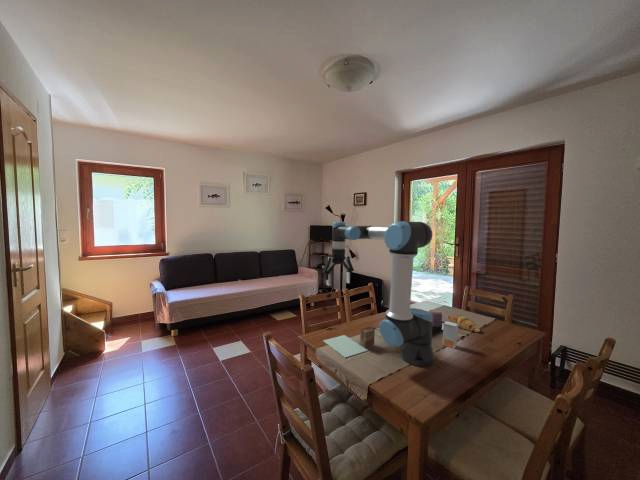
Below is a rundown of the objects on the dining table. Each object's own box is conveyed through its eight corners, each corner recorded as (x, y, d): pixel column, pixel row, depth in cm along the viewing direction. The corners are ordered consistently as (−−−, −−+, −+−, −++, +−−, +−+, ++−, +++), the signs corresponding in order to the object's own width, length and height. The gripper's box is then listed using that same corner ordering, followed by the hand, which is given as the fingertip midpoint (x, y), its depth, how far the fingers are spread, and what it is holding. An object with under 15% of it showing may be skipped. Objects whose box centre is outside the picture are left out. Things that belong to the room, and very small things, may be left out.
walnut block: (374, 346, 139) (374, 329, 138) (365, 349, 136) (365, 332, 135) (369, 343, 142) (369, 326, 142) (360, 346, 139) (360, 329, 139)
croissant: (482, 338, 158) (487, 325, 159) (473, 333, 153) (478, 320, 154) (450, 324, 177) (455, 313, 178) (441, 319, 172) (446, 308, 173)
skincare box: (442, 345, 141) (443, 323, 140) (444, 342, 144) (446, 320, 143) (454, 349, 137) (455, 326, 136) (457, 346, 140) (458, 323, 139)
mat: (367, 350, 134) (367, 350, 134) (345, 358, 127) (345, 357, 127) (344, 335, 151) (344, 334, 151) (322, 341, 144) (322, 340, 144)
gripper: (353, 246, 166) (352, 280, 168) (316, 248, 155) (316, 284, 157) (360, 248, 160) (359, 283, 161) (322, 250, 149) (322, 287, 151)
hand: (338, 284), depth 159 cm, fingers open, 13 cm apart
